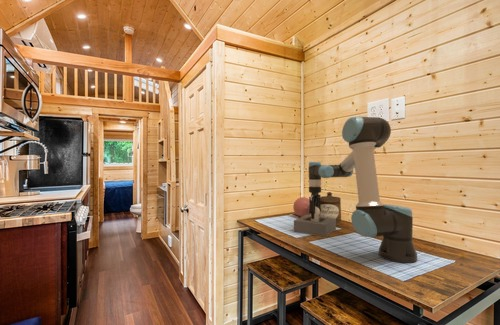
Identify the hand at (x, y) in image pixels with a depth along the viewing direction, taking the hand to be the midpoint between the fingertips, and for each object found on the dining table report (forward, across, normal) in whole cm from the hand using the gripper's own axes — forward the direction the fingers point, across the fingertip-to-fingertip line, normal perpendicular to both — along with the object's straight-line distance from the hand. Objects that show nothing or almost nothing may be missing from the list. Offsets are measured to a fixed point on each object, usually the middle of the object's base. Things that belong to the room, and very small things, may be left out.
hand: (315, 222), depth 161 cm
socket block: (+5, 0, 0) cm, 5 cm away
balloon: (+5, -31, -20) cm, 37 cm away
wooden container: (+5, -23, +2) cm, 24 cm away
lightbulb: (+1, 0, 0) cm, 1 cm away
